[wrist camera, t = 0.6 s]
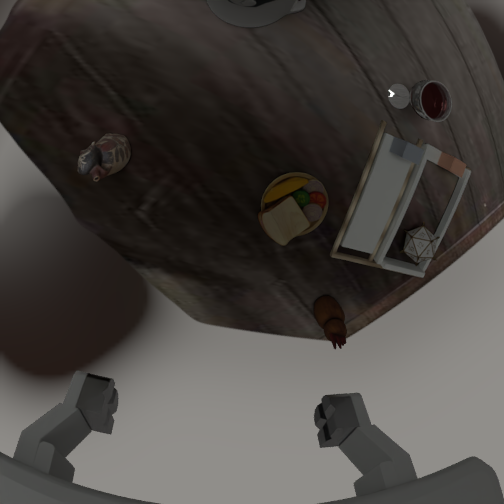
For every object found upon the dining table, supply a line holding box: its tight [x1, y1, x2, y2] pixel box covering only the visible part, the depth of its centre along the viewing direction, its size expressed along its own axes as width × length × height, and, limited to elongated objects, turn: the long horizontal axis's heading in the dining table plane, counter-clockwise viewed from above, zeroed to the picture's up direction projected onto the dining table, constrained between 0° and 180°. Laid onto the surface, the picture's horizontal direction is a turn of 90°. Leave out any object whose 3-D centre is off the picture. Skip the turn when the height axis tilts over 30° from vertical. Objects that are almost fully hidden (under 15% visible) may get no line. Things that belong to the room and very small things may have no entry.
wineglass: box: [388, 80, 452, 122], centre depth 40 cm, size 7×7×12 cm
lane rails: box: [330, 120, 471, 278], centre depth 56 cm, size 29×26×1 cm
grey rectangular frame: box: [374, 143, 471, 278], centre depth 54 cm, size 27×14×5 cm, turn 165°
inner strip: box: [340, 132, 424, 254], centre depth 52 cm, size 24×8×6 cm, turn 165°
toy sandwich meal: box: [258, 172, 328, 245], centre depth 53 cm, size 12×14×5 cm
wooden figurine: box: [314, 296, 347, 349], centre depth 60 cm, size 7×6×15 cm
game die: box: [400, 222, 440, 266], centre depth 56 cm, size 9×8×10 cm
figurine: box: [78, 133, 131, 181], centre depth 42 cm, size 7×7×12 cm
